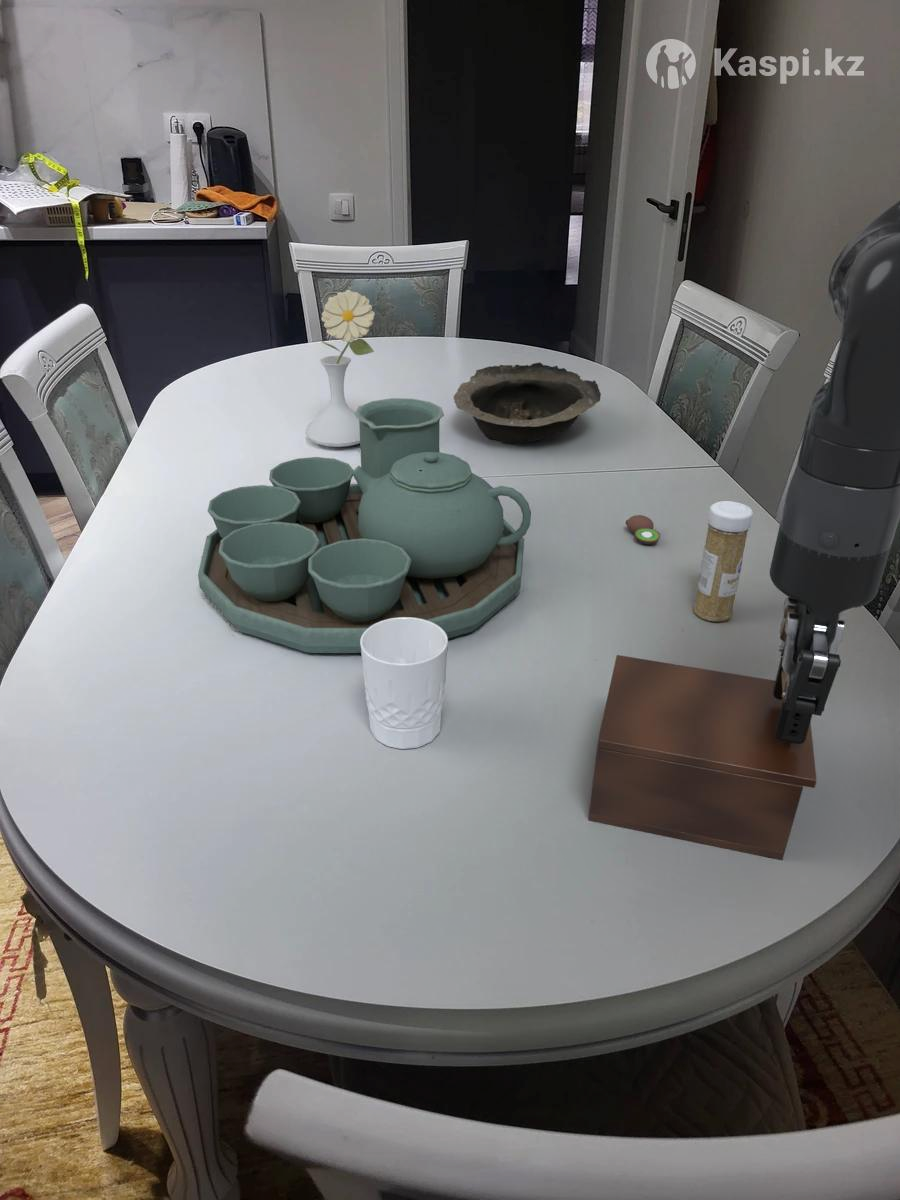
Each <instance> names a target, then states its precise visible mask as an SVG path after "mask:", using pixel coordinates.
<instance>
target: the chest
mask: <svg viewBox="0 0 900 1200" xmlns="http://www.w3.org/2000/svg"><path fill="white" fill-rule="evenodd" d="M591 785H592V786H591V794H590V800H589V808H588V809H589V810H588V821H590V822H591V821H592V822H595V823H601V824H605V825H610V826H616V827H621V828H624V829H625V828H626V829H630V830H634V831H638V832H639V831H640V832H644V833H649V834H655V835H660V836H664V837H669V838H672V839H673V838H674V839H678V840H683V841H687V842H693V843H697V844H703V845H708V846H713V847H717V848H721V849H726V850H732V851H736V852H740V853H741V852H742V853H745V854H750V855H756V856H760V857H765V858H771V859H776V860H780V861H783V859H784V857H785V853H786V849H787V846H788V842H789V839H790V835H791V833H792V828H793V825H794V821H795V817H796V814H797V811H798V807H799V803H800V799H801V796H802V792H803V789H804V786H800V785H795V784H790V783H784V782H779V781H773V780H768V779H763V778H757V777H752V776H747V775H741V774H736V773H731V772H725V771H720V770H715V769H709V768H704V767H699V766H693V765H688V764H683V763H677V762H672V761H667V760H661V759H656V758H651V757H645V756H640V755H635V754H629V753H624V752H619V751H613V750H608V749H603V748H598V747H597V746H596V751H595V760H594V768H593V776H592V784H591Z"/></svg>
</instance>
